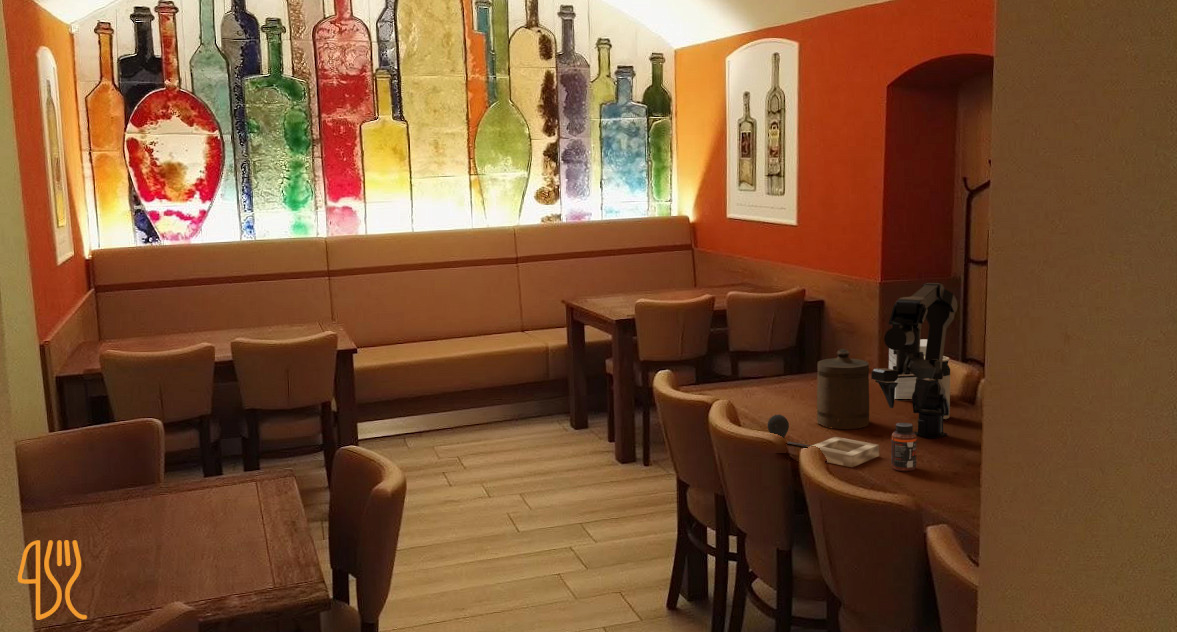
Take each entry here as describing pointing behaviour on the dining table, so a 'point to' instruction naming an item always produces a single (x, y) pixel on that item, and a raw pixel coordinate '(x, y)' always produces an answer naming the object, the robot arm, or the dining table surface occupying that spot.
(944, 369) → the travel mug
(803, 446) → the dark grey rod
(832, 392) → the wooden container
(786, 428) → the light bulb
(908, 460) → the supplement bottle
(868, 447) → the cream square shallow tray
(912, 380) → the supplement box
